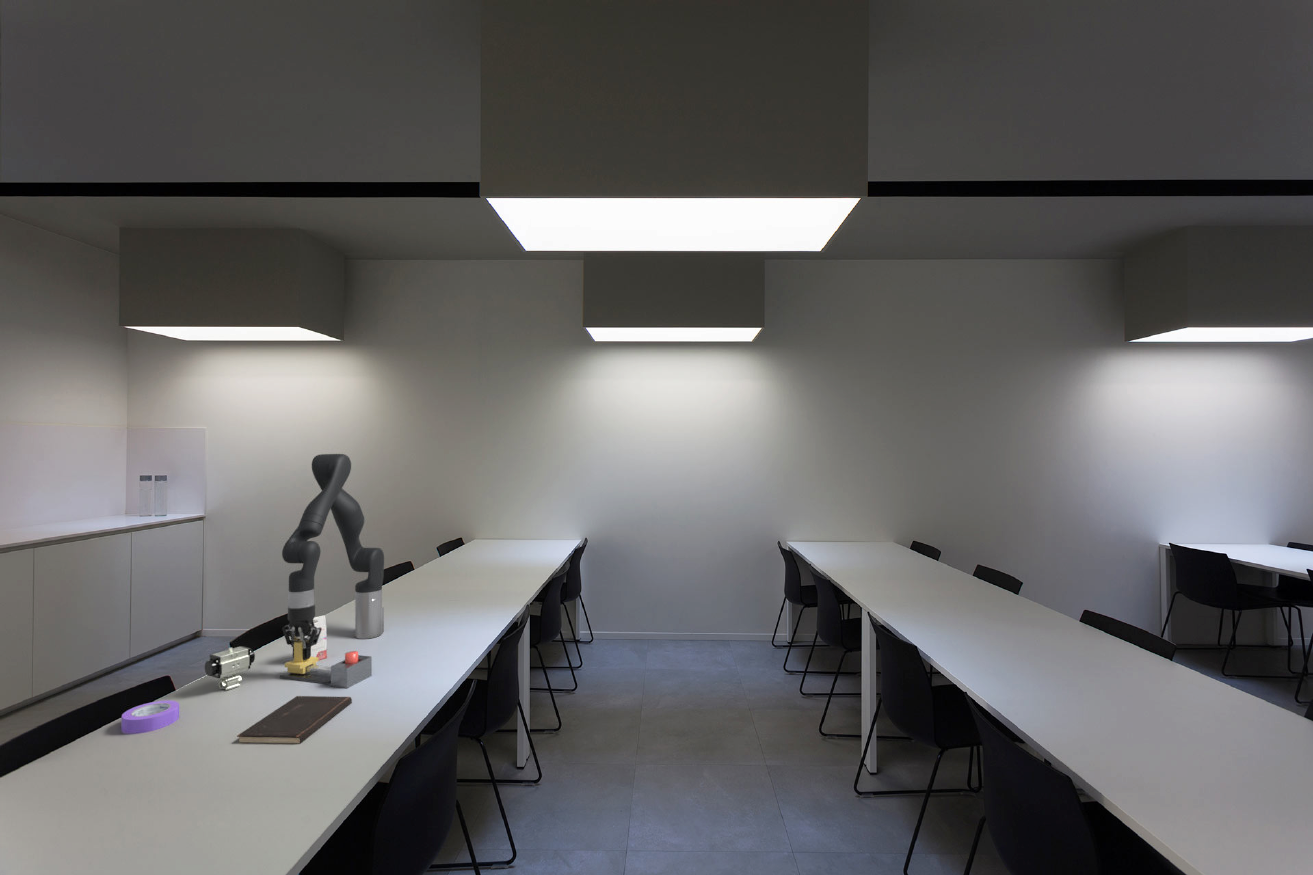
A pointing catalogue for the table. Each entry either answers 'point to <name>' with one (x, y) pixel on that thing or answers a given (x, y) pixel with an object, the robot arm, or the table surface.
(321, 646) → the ink cartridge box
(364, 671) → the grey button housing
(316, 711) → the hardcover book
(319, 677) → the rail
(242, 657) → the pneumatic valve
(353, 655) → the button
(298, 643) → the yellow flanged block
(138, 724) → the masking tape
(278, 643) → the table surface
